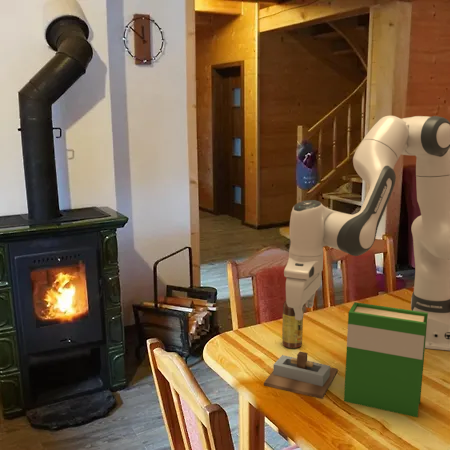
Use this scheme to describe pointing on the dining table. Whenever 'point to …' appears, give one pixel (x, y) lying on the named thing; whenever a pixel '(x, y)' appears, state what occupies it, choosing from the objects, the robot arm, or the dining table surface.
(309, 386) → the post fixture
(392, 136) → the robot arm
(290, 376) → the grey rectangular frame
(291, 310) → the sauce bottle
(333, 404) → the dining table surface
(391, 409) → the hardback book
